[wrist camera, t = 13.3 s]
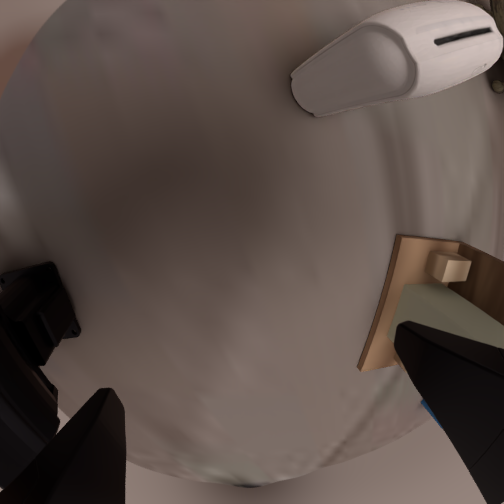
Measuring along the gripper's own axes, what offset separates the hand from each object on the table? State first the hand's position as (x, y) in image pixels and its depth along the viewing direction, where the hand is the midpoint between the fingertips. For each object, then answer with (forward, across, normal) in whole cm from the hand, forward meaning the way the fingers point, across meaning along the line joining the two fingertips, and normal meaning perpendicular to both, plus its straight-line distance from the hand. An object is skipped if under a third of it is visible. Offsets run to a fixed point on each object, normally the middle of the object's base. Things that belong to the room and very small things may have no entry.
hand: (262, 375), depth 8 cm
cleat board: (+13, -17, +10) cm, 24 cm away
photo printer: (+13, -11, -11) cm, 20 cm away
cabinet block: (+12, -17, +10) cm, 23 cm away
